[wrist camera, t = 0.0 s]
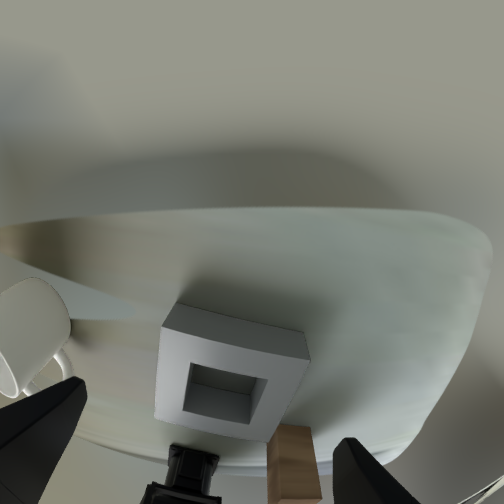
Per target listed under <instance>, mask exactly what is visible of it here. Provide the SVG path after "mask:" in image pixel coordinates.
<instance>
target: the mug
mask: <svg viewBox="0 0 504 504" xmlns="http://www.w3.org/2000/svg"><path fill="white" fill-rule="evenodd" d="M70 332H71V323H70V318H69V314H68V311H67V308H66V306H65V304H64V302H63V300H62V299H61V297H60V296H59V294H58V293H57V292H56V291H55V289H54V288H53V287H51V286H50V285H49V284H48V283H46V282H45V281H43V280H41V279H38V278H28V279H25V280H23V281H21V282H19V283H17V284H15V285H14V286H12V287H10V288H9V289H7V290H5V291H4V292H2V293H1V294H0V392H1V393H2V394H4V395H6V396H8V397H11V398H15V397H17V396H18V395H19V394H20V393H21V392H22V391H23V392H24V393H25V394H26V395H27V396H30V395H33V394H35V393H37V392H39V391H42V389H40V388H39V387H38V386H37V385H36V384H35V383H34V382H33V381H32V379H33V378H34V377H35V376H36V375H37V374H38V373H39V371H40V370H41V369H42V368H43V367H44V366H45V365H46V364H47V363H48V362H49V361H50V360H51V359H52V358H53V357H54V358H55V359H56V360H57V361H58V363H59V364H60V366H61V368H62V371H63V380H66V379H68V378H70V377H72V376H75V375H74V369H73V366H72V363H71V361H70V359H69V357H68V356H67V354H66V353H65V351H64V350H63V349H62V347H63V346H64V345H65V343H66V342H67V340H68V339H69V336H70ZM63 380H62V381H63Z"/></svg>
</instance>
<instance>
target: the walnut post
mask: <svg viewBox="0 0 504 504" xmlns="http://www.w3.org/2000/svg"><path fill="white" fill-rule="evenodd" d="M267 485H268V486H267V487H268V504H317V503H318V502H319V501H320V500H322V495H321V488H320V482H319V475H318V469H317V463H316V457H315V452H314V446H313V440H312V434H311V429H310V427H302V426H291V425H282V424H279V425H278V426H277V428H276V430H275V432H274V434H273V435H272V437H271V439H270V441H269V442H268V443H267Z"/></svg>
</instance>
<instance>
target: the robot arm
mask: <svg viewBox="0 0 504 504" xmlns="http://www.w3.org/2000/svg"><path fill="white" fill-rule="evenodd" d="M86 401H87V391H86V385H85V381H84V380H83V379H80V378H78V377H76V376H72V377H70V378H68V379H66V380H63V381H61V382H59V383H57V384H55V385H53V386H50V387H48V388H46V389H44V390H42V391H39V392H37V393H35V394H33V395H30V396H28V397H26V398H24V399H22V400H19V401H17V402H15V403H12V404H10V405H8V406H5V407H3V408H1V409H0V504H38V502H39V500H40V498H41V496H42V494H43V492H44V489H45V487H46V485H47V483H48V481H49V479H50V477H51V475H52V473H53V471H54V469H55V467H56V465H57V463H58V461H59V460H60V458H61V456H62V454H63V452H64V450H65V448H66V446H67V445H68V443H69V441H70V439H71V437H72V435H73V433H74V431H75V428H76V426H77V423H78V421H79V418H80V416H81V413H82V411H83V409H84V406H85V404H86ZM218 461H219V456H217V455H213V454H208V453H203V452H199V451H194V450H190V449H186V448H182V447H178V446H175V445H170V448H169V458H168V466H169V469H168V473H167V476H166V480H165V484H164V485H161V484H158V483H157V482H154V481H153V482H152V484H150V485H149V484H148V485H147V488H146V491H145V494H144V496H143V498H142V500H141V502H140V504H221V503H222V502H221V501H222V497H219V496H217V497H215V496H209V492H210V484H211V477H212V476H213V474H214V471H215V469H216V466H217V464H218ZM333 496H334V504H421V503H419V502H418V501H417V500H416V499H415V498H414V497H412V495H411V494H410V493H409V492H408V491H407V490H406V489H405V488H404V487H403V486H402V485H401V484H400V483H399V482H398V481H397V480H396V479H395V478H394V477H393V476H392V475H391V474H390V473H389V472H388V471H387V470H386V469H385V468H384V467H383V466H382V465H381V464H380V463H379V462H378V461H377V460H376V459H375V458H374V457H373V456H372V455H371V454H370V453H369V452H368V451H367V450H366V448H365V447H364V446H363V445H362V444H361V443H360V442H359V441H358V440H357V439H356V438H353V437H346V438H344V439H342V441H341V442H340V443H339V444H338V446H337V447H336V448H335V449H334V452H333Z"/></svg>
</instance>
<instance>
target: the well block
mask: <svg viewBox="0 0 504 504" xmlns="http://www.w3.org/2000/svg"><path fill="white" fill-rule="evenodd" d="M310 361H311V360H310V356H309V352H308V348H307V345H306V341H305V337H304V333H303V332H298V331H293V330H288V329H283V328H278V327H273V326H269V325H264V324H260V323H255V322H251V321H246V320H242V319H238V318H234V317H230V316H225V315H221V314H217V313H213V312H210V311H206V310H202V309H198V308H194V307H191V306H187V305H183V304H180V303H175V305H174V306H173V308H172V310H171V311H170V313H169V315H168V316H167V318H166V320H165V321H164V323H163V325H162V326H161V335H160V344H159V355H158V366H157V379H156V395H155V416H154V418H155V419H159V420H162V421H165V422H169V423H172V424H176V425H179V426H183V427H187V428H191V429H195V430H199V431H203V432H208V433H212V434H217V435H222V436H227V437H233V438H239V439H245V440H252V441H259V442H267V443H268V442H269V441H270V439H271V437H272V435H273V434H274V432H275V430H276V428H277V426H278V425H279V423H280V421H281V419H282V417H283V415H284V414H285V412H286V410H287V408H288V406H289V404H290V402H291V400H292V398H293V396H294V394H295V392H296V390H297V388H298V386H299V384H300V382H301V380H302V378H303V376H304V374H305V372H306V370H307V367H308V365H309V363H310ZM194 363H195V364H199V365H203V366H207V367H211V368H215V369H219V370H223V371H228V372H232V373H237V374H242V375H247V376H252V377H257V379H256V382H255V384H254V387H253V390H252V392H251V395H245V394H240V393H235V392H230V391H225V390H221V389H216V388H212V387H208V386H204V385H200V384H196V383H192V382H191V378H192V372H193V367H194Z"/></svg>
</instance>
